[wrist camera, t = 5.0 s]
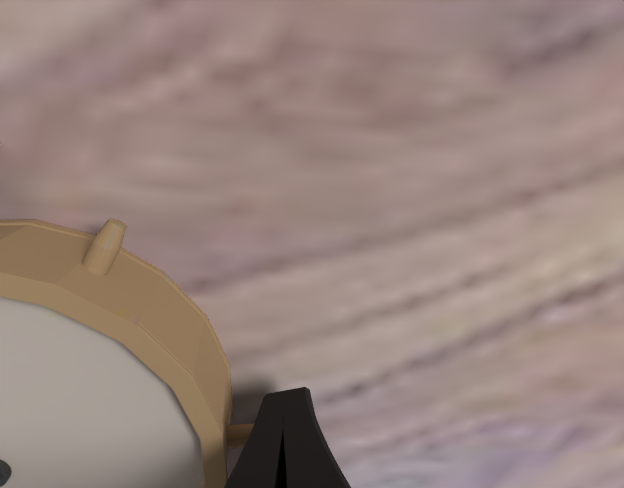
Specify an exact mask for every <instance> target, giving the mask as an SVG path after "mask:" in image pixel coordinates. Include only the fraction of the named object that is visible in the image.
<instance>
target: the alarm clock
mask: <svg viewBox="0 0 624 488" xmlns="http://www.w3.org/2000/svg"><path fill="white" fill-rule="evenodd" d="M125 229H126V225H125V224H124V223H123V222H121V221H119V220H116V219H112V218H110V219H109V220H108V221H107V222H106V224H105V225H104V226H103V227H102V229H101V230H100V231H99V232H98V234H97V235H93V234H89V233H85V232H82V231H78V230H74V229H70V228H67V227H63V226H59V225H56V224H52V223H48V222H44V221H40V220H36V219H20V220H0V488H224V486H225V485H226V483H227V481H228V476H227V454H228V449H230V448H241V447H244V446H245V444H246V442H247V440H248V437H249V435H250V433H251V430H252V428H253V426H254V424H238V425H230V420H231V417H232V413H233V405H232V391H231V378H230V364H229V361H228V359H227V357H226V355H225V353H224V351H223V349H222V347H221V345H220V342H219V340H218V338H217V336H216V334H215V332H214V330H213V328H212V326H211V324H210V321H209V319H208V317H207V316H206V315H205V314H204V313H203V312H202V311H201V309H200V308H199V307H198V306H197V305H196V304H195V303H194V302H193V301H192V300H191V299H190V298H189V297H188V296H187V295H186V294H185V293H184V292H183V291H182V290H181V289H180V288H179V287H178V286H177V284H176V283H175V282H174V281H173V280H172V279H171V278H170V277H169V276H168V275H167V274H166V273H165V272H163V271H162V270H160V269H158V268H156V267H155V266H153V265H151V264H150V263H148V262H146V261H144V260H143V259H141V258H139V257H137V256H136V255H134V254H132V253H131V252H129V251H127V250H125V249H124V248H122V247H121V244H122V240H123V237H124V233H125Z"/></svg>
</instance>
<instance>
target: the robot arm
mask: <svg viewBox="0 0 624 488" xmlns="http://www.w3.org/2000/svg"><path fill="white" fill-rule="evenodd" d="M224 488H351V487H350V485H349V483H348V482H347V480H346V478H345V477H344V475H343V473H342V471H341V470H340V468H339V466H338V464H337V462H336V460H335V459H334V457H333V455H332V453H331V451H330V449H329V447H328V445H327V442H326V440H325V438H324V436H323V434H322V432H321V429H320V427H319V424H318V422H317V419H316V416H315V412H314V407H313V403H312V398H311V394H310V390H309V389H308V388H306V387H302V388H297V389H291V390H286V391H280V392H275V393H269V394H266V396H265V397H264V398H263V402H262V405H261V407H260V410H259V413H258V416H257V418H256V421H255V423H254V426H253V428H252V430H251V433H250V435H249V437H248V440H247V442H246V444H245V446H244V448H243V451H242V453H241V455H240V457H239V459H238V461H237V463H236V465H235V467H234V469H233V471H232V473H231V475H230V477H229V479H228V481H227V483H226V485H225V486H224Z"/></svg>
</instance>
